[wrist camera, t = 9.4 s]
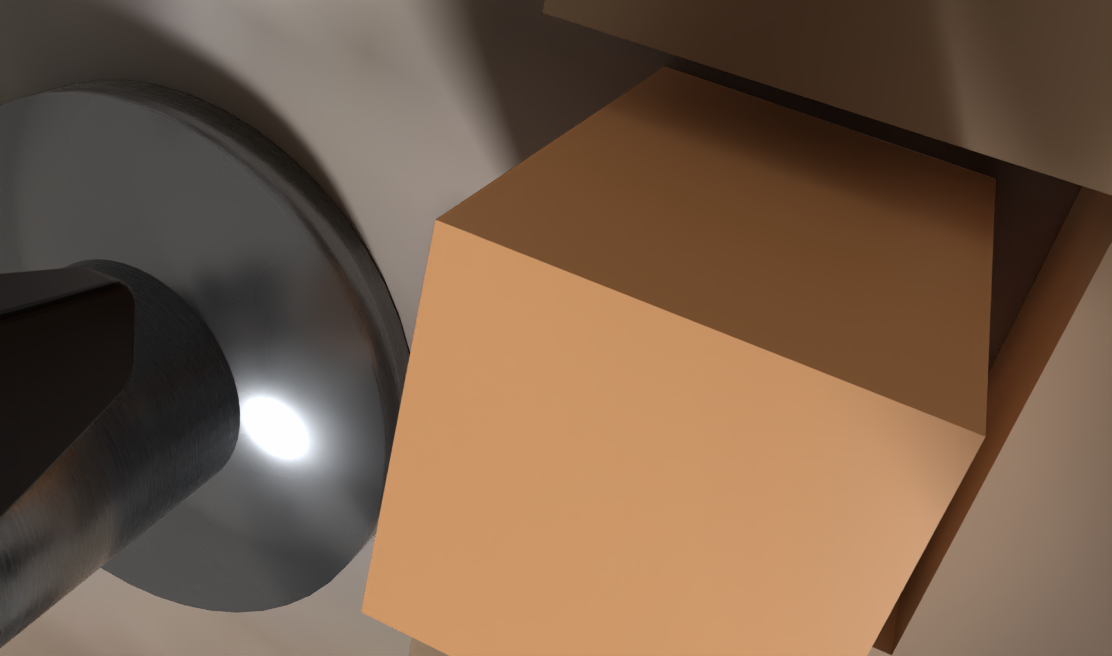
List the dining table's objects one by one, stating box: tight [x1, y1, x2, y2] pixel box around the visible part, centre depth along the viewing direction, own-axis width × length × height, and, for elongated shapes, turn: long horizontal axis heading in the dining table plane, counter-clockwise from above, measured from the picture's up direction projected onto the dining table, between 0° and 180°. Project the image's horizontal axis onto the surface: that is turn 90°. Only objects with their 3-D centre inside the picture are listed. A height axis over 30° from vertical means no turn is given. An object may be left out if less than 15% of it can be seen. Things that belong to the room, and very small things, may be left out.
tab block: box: [361, 67, 996, 656], centre depth 11 cm, size 4×4×6 cm
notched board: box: [409, 0, 1112, 656], centre depth 11 cm, size 11×16×2 cm
